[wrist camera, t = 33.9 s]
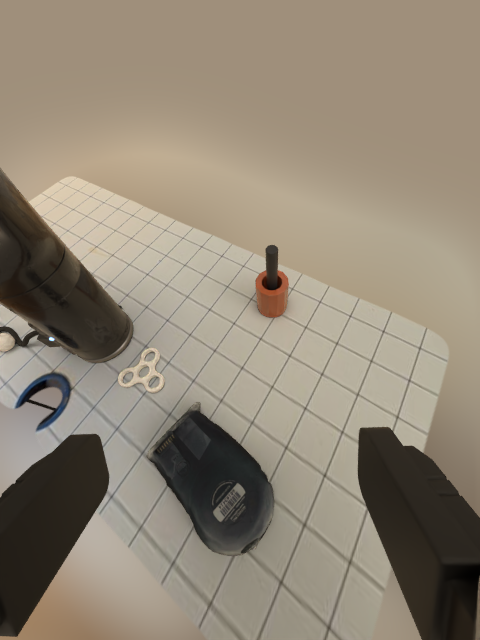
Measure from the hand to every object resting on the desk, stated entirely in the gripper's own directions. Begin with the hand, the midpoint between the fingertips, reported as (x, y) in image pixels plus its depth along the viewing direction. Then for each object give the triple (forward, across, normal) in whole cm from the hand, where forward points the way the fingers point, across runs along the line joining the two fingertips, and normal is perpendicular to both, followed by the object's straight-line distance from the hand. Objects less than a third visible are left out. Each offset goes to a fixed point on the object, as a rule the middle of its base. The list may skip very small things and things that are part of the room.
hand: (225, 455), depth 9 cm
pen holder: (+37, -3, +3) cm, 37 cm away
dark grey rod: (+36, -3, +3) cm, 37 cm away
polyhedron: (+34, +40, +6) cm, 53 cm away
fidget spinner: (+30, +16, +10) cm, 35 cm away
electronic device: (+20, +5, +20) cm, 29 cm away
